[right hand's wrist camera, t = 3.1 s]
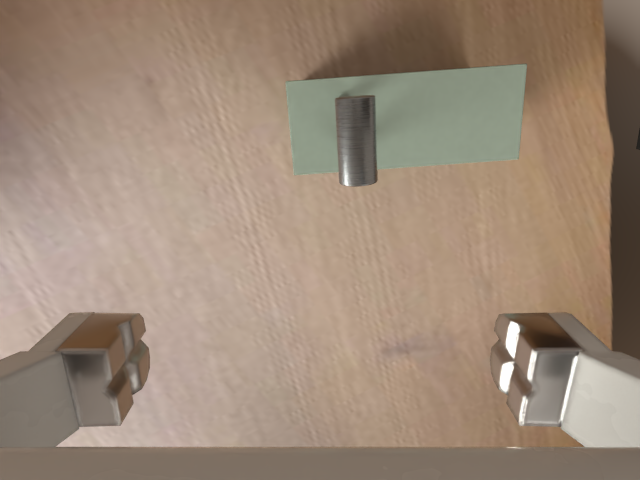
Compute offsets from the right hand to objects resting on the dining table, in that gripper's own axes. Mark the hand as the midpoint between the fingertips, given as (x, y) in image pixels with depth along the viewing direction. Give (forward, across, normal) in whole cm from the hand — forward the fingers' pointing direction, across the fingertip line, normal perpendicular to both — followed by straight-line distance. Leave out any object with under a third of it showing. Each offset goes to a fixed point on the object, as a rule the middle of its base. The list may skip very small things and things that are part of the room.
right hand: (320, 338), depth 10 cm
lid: (+20, +5, +3) cm, 21 cm away
